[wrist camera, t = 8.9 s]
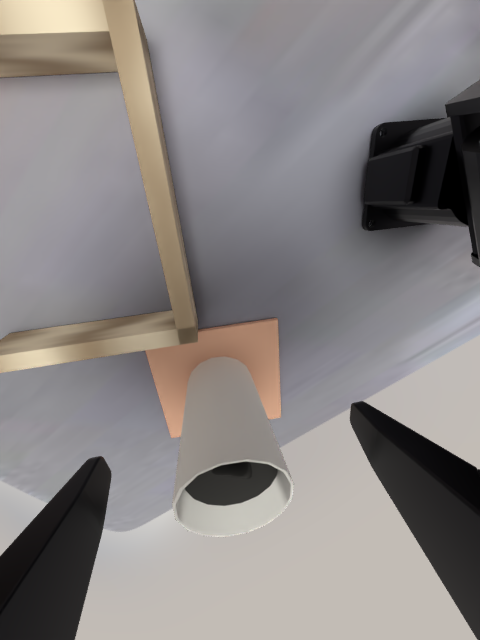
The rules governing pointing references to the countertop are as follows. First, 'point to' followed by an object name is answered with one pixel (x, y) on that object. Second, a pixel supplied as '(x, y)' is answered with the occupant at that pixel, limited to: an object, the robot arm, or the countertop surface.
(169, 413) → the terracotta mat
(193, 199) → the countertop surface
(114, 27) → the beige angled bar
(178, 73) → the countertop surface
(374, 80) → the countertop surface
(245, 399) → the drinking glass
